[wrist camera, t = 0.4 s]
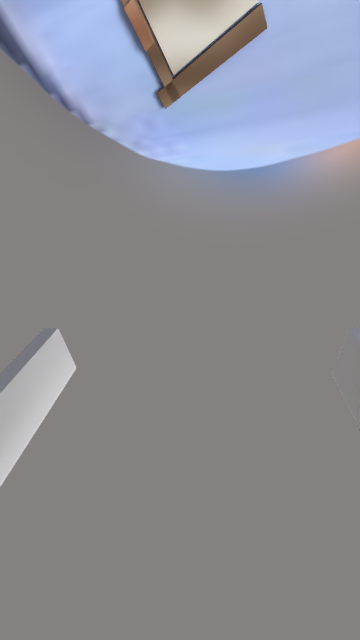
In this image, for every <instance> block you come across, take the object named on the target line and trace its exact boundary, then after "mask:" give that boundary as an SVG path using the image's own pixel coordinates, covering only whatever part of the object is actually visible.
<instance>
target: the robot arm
mask: <svg viewBox="0 0 360 640" xmlns="http://www.w3.org/2000/svg"><path fill="white" fill-rule="evenodd" d="M75 369H76V366H75V364H74V362H73V360H72V357H71V355H70V353H69V351H68V349H67V346H66V344H65V342H64V340H63V338H62V336H61V334H60V331H59V329H58V328H44V329H43V330H42V331H41V332H40V333H39V334H38V335H37V336H36V337H35V338H34V339H33V340H32V341H31V342H30V343H29V344H28V345H27V346H26V348H24V350H23V351H22V352H21V353H20V354H19V355H18V356H17V357H16V358H15V359H14V360H13V361H12V362H11V363H10V364H9V365H8V366H7V367H6V368H5V369H4V370H3V371H2V372H1V373H0V486H1V485H2V483H3V482H4V480H5V478H6V477H7V475H8V474H9V472H10V471H11V469H12V468H13V466H14V464H15V463H16V461H17V459H18V458H19V457H20V455H21V454H22V452H23V450H24V449H25V447H26V446H27V444H28V443H29V441H30V440H31V438H32V436H33V435H34V433H35V432H36V430H37V428H38V427H39V426H40V424H41V422H42V421H43V419H44V418H45V416H46V415H47V413H48V411H49V410H50V408H51V407H52V405H53V404H54V402H55V401H56V399H57V397H58V396H59V394H60V393H61V391H62V390H63V388H64V387H65V385H66V383H67V382H68V380H69V379H70V377H71V376H72V374H73V372H74V371H75ZM331 375H332V377H333V379H334V381H335V383H336V384H337V386H338V389H339V390H340V392H341V394H342V396H343V398H344V400H345V402H346V404H347V406H348V408H349V410H350V412H351V414H352V416H353V418H354V420H355V422H356V423H357V426H358V428H359V430H360V328H348V331H347V333H346V336H345V339H344V341H343V344H342V347H341V350H340V352H339V355H338V358H337V360H336V363H335V366H334V369H333V372H332V374H331Z"/></svg>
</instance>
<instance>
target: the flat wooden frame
mask: <svg viewBox="0 0 360 640" xmlns="http://www.w3.org/2000/svg"><path fill="white" fill-rule="evenodd" d="M121 1H122V3H123V5H124V7H125V8H124V9H125V11H126V13H127V15H128V17H129V19H130V21H131V23H132V25H133V27H134V29H135V31H136V33H137V35H138V37H139V39H140V41H141V43H142V45H143V47H144V49H145V51H147V53H148V55H149V57H150V59H151V61H152V63H153V65H154V67H155V69H156V71H157V73H158V75H159V77H160V79H161V81H162V83H163V85H164V87H163V88H162V89H161V90H159V91H158V93H157V94H158V96H159V98H160V100H161V102H162V104H163V106H164V107H165V109H166V108H167V107H168V106H170V105H171V104H172V103H173V102H175V101H176V100H177V99H178V98H180V97H181V96H182V95H183V94H185V93H186V92H187V91H189V90H190V89H191V88H192V87H194V86H195V85H196V84H197V83H199V82H200V81H201V80H202V79H204V78H205V77H206V76H207V75H209V74H210V73H211V72H212V71H214V70H215V69H216V68H218V67H219V66H220V65H221V64H223V63H224V62H225V61H226V60H228V59H229V58H230V57H231V56H233V55H234V54H235V53H236V52H238V51H239V50H240V49H241V48H243V47H244V46H245V45H247V44H248V43H249V42H250V41H252V40H253V39H254V38H255V37H257V36H258V35H259V34H260V33H262V32H263V31H264V30H265V29H267V24H266V20H265V15H264V11H263V6H262V3H261V4H260V5H258V6H257V7H256V8H255V9H254V10H253V11H251V12H250V13H249V14H248V15H247V16H246V17H244V18H243V19H242V20H241V21H240V22H239V23H237V24H236V25H235V26H234V27H233V28H232V29H230V30H229V31H228V32H227V33H226V34H225V35H224V36H222V37H221V38H220V39H219V40H218V41H217V42H215V43H214V44H213V45H212V46H211V47H210V48H208V49H207V50H206V51H205V52H204V53H203V54H201V55H200V56H199V57H198V58H197V59H196V60H194V61H193V62H192V63H191V64H190V65H189V66H187V67H186V68H185V69H184V70H183V71H182V72H180V73H179V74H178V75H177V76H176V77H175V78H173V76H172V74H171V72H170V70H169V68H168V66H167V63H166V61H165V59H164V57H163V55H162V53H161V51H160V49H159V46H158V44H157V42H156V40H155V38H154V36H153V34H152V32H151V29H150V27H149V25H148V23H147V21H146V19H145V17H144V14H143V12H142V10H141V8H140V6H139V4H138V2H137V0H121ZM139 2H140V4H141V6H142V9H143V11H144V13H145V15H146V17H147V19H148V21H149V24H150V26H151V28H152V30H153V32H154V34H155V36H156V39H157V41H158V43H159V45H160V47H161V49H162V51H163V54H164V56H165V58H166V60H167V62H168V64H169V66H170V69H171V71H172V73H173V75H175V74H176V73H177V72H178V71H179V70H180V69H182V68H183V67H184V66H185V65H186V64H187V63H188V62H190V61H191V60H192V59H193V58H194V57H195V56H197V55H198V54H199V53H200V52H201V51H202V50H203V49H205V48H206V47H207V46H208V45H209V44H210V43H212V42H213V41H214V40H215V39H216V38H217V37H218V36H220V35H221V34H222V33H223V32H224V31H225V30H227V29H228V28H229V27H230V26H231V25H232V24H233V23H235V22H236V21H237V20H238V19H239V18H240V17H242V16H243V15H244V14H245V13H246V12H247V11H248V10H250V9H251V8H252V7H253V6H254V5H255V4H257V3H258V0H139Z"/></svg>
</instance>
